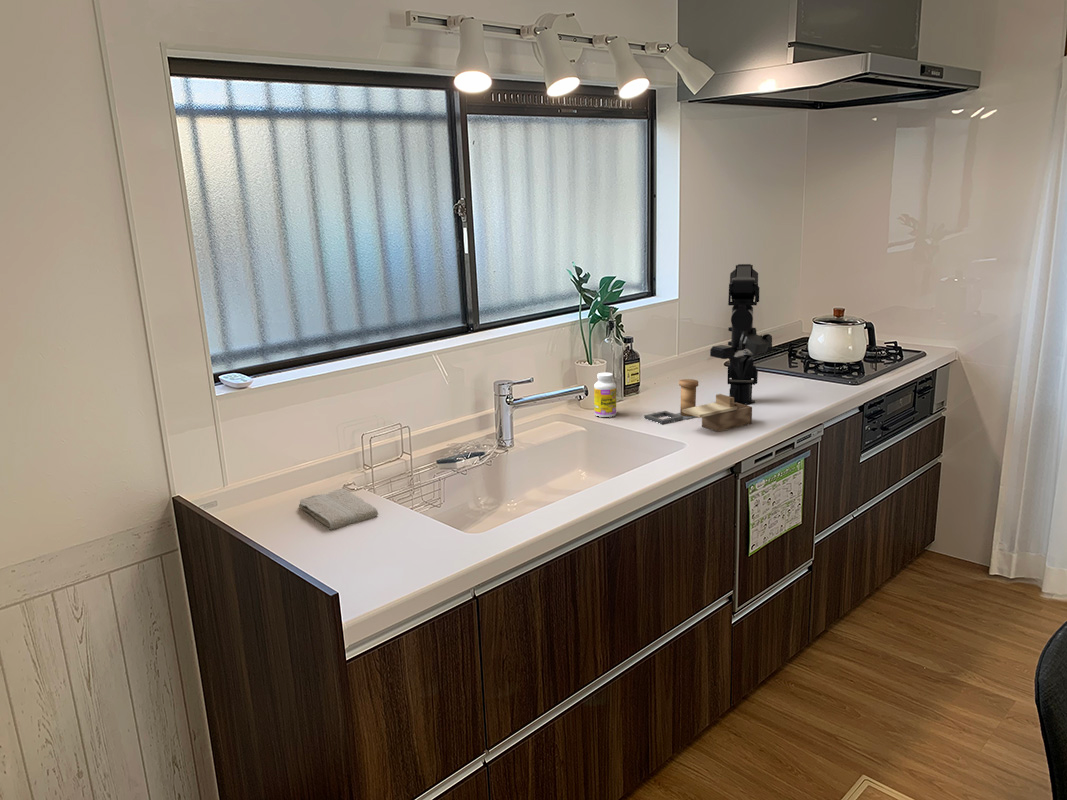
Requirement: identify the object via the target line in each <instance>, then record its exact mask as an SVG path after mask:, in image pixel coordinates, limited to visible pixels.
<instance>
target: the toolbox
mask: <svg viewBox="0 0 1067 800" xmlns="http://www.w3.org/2000/svg"><path fill="white" fill-rule="evenodd" d="M734 406H737V410H732V411H728V412H723V413H719V414H714V415H710V416H705V417H701V427H702V428H705V429H708V430H710V431H713V432H716V433H718V432H723V431H727V430H733V429H735V428H739V427H744V426H748V424H749V425H751V424H753V406H750V405H748V404H745V405H744V404H740V403H734Z"/></svg>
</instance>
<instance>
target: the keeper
mask: <svg viewBox="0 0 1067 800" xmlns="http://www.w3.org/2000/svg"><path fill="white" fill-rule="evenodd" d="M660 416H661V417H667V416H668V417H667V418H661V417H660ZM643 417H644V418H645V419H644V420H647V419H648V420H647V421H650V420H652V421H651V422H653V421H655V422H654V423H656V422H658V423H657V424H659V423H660V424H659V425H664V423H666V424H668V423H669V422H670V423H674V421H675V422H679V421H682V420H684V419H683V416H680V415H677V413H673V412H671V411H667V410H664V411H663V410H662V411H658V412H653V413H649V414H644V416H643ZM670 417H671V418H670ZM678 420H679V421H678ZM670 423H669V424H670Z"/></svg>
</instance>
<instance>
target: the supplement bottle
mask: <svg viewBox="0 0 1067 800" xmlns="http://www.w3.org/2000/svg"><path fill="white" fill-rule="evenodd" d="M596 377H597V381H596V382H595V383H594V384H593V390H594V391H593V398H594V399H593V403H594V404H593V407H594V412H593V413H594V415H596V417H597V416H599V417H598V418H601V417H609V418H613V417H615V416H616V415H617V384H616V383H615V381H613V379H614V375H613V372H606V371H605V372H598V373H597V375H596ZM612 416H613V417H612Z"/></svg>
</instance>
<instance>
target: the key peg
mask: <svg viewBox="0 0 1067 800" xmlns="http://www.w3.org/2000/svg"><path fill="white" fill-rule="evenodd" d="M678 385H679V386H680V410H679V411H680V412H679V413H680V415H682V416H693V415H690V414H686V413H683V412H682V409H687V408H691V407H696V405H697V403H696V401H697V400H696V398H697V388H698V387H699V380H698V379H693V378H683V379H679V381H678Z"/></svg>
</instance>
